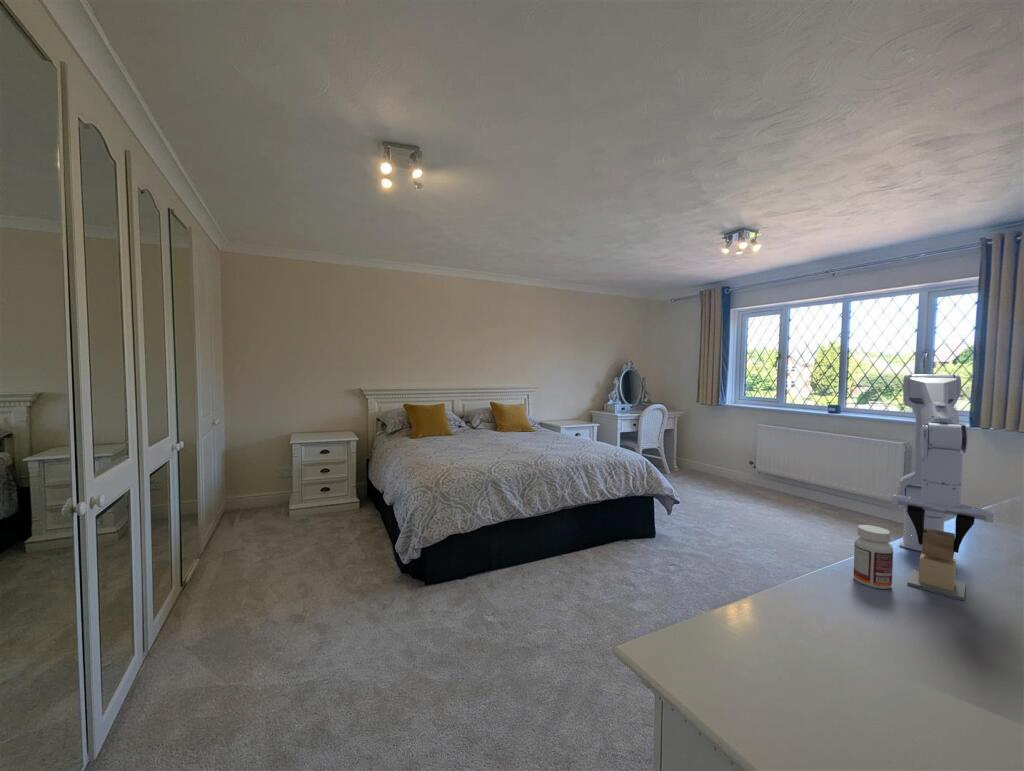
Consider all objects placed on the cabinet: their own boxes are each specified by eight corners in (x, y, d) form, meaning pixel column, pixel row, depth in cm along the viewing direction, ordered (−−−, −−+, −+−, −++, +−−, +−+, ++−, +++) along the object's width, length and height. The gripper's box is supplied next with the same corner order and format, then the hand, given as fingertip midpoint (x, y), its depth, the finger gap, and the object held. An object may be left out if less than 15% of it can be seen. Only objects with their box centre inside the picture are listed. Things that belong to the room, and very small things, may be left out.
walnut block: (924, 547, 90) (925, 527, 90) (953, 554, 87) (954, 533, 87) (922, 553, 88) (922, 532, 87) (952, 560, 84) (953, 538, 84)
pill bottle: (893, 583, 88) (895, 529, 88) (890, 593, 84) (892, 537, 84) (855, 572, 93) (857, 521, 92) (850, 582, 88) (852, 528, 88)
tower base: (912, 571, 94) (913, 546, 93) (965, 585, 88) (966, 559, 87) (907, 584, 88) (908, 558, 87) (963, 600, 82) (965, 572, 81)
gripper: (891, 477, 90) (888, 541, 90) (994, 492, 79) (991, 564, 79) (896, 473, 94) (893, 533, 95) (994, 486, 84) (991, 554, 84)
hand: (938, 547), depth 87 cm, fingers closed on walnut block, 4 cm apart
